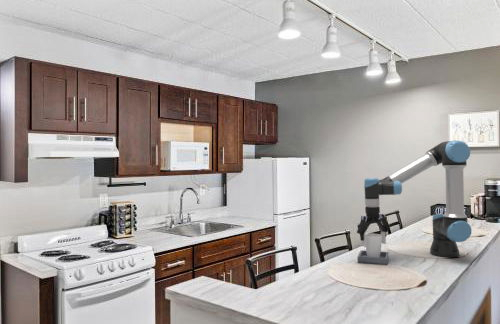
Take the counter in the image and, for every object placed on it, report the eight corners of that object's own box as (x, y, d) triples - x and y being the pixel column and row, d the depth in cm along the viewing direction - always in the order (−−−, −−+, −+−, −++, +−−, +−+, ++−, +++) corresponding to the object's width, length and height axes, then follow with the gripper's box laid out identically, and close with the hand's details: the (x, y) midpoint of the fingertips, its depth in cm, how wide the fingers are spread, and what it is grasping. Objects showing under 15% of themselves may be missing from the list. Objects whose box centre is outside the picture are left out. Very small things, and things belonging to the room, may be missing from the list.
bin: (388, 258, 216) (388, 252, 216) (387, 265, 202) (387, 258, 202) (360, 256, 221) (360, 250, 221) (357, 263, 207) (357, 256, 207)
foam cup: (383, 261, 206) (383, 237, 206) (365, 260, 208) (365, 236, 208) (381, 256, 215) (380, 233, 215) (364, 256, 217) (363, 233, 217)
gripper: (385, 203, 220) (386, 241, 220) (349, 207, 210) (350, 246, 210) (395, 205, 213) (396, 243, 213) (358, 208, 203) (359, 249, 203)
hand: (373, 244), depth 212 cm, fingers open, 13 cm apart
